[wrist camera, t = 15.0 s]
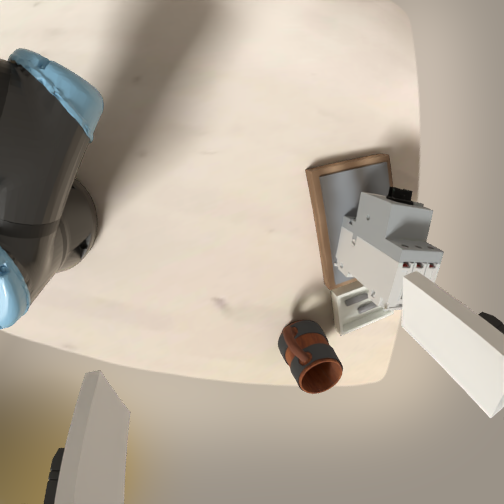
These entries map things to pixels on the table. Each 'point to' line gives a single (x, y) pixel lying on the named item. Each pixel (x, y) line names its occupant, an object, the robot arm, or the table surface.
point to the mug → (310, 356)
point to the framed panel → (343, 203)
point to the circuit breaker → (387, 245)
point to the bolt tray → (354, 308)
